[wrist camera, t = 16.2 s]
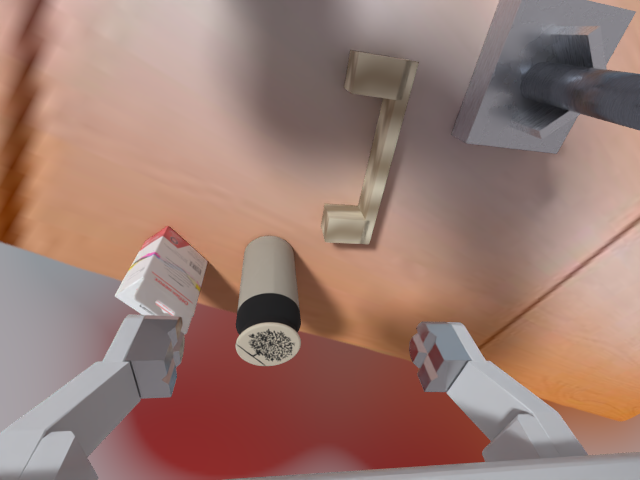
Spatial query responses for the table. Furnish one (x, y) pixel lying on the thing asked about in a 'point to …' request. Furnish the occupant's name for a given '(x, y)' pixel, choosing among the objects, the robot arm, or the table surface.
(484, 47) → the v block
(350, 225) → the notched beam
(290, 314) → the travel mug
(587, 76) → the steel axle
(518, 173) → the table surface
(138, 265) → the ink cartridge box
